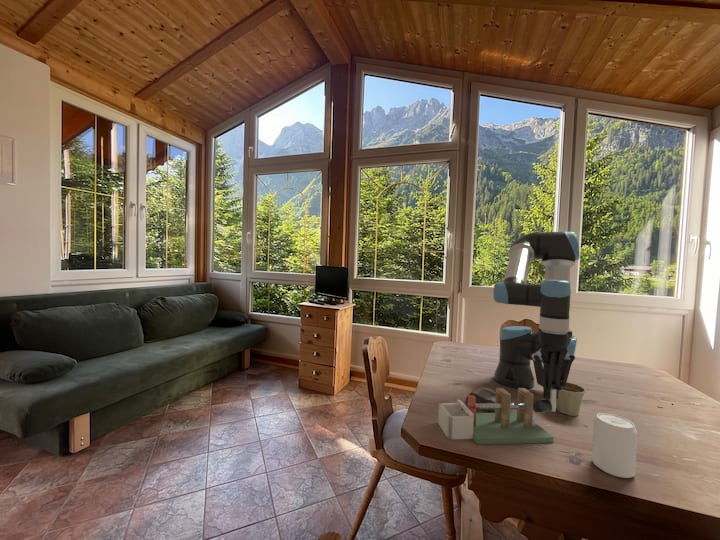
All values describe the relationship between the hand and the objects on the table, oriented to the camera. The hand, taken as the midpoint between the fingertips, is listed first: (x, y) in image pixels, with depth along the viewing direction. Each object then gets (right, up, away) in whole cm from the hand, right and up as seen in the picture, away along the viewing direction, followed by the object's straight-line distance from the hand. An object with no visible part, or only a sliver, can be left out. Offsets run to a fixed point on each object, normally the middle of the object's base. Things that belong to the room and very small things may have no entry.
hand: (550, 409), depth 92 cm
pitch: (-15, -6, -1) cm, 16 cm away
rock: (-13, -6, +15) cm, 20 cm away
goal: (-30, -5, -2) cm, 30 cm away
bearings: (-12, -4, -1) cm, 12 cm away
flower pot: (+13, -6, +11) cm, 18 cm away
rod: (-13, -4, -1) cm, 14 cm away
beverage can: (+4, -7, -18) cm, 19 cm away
